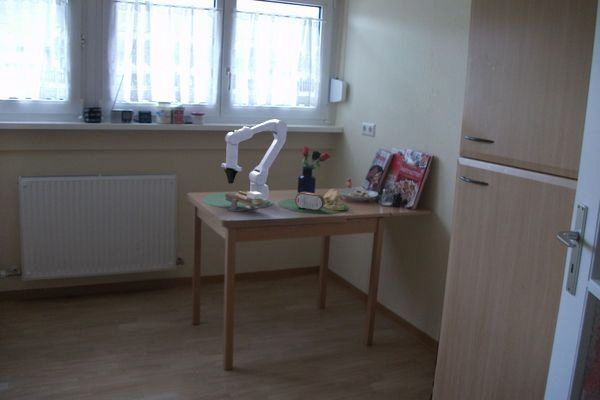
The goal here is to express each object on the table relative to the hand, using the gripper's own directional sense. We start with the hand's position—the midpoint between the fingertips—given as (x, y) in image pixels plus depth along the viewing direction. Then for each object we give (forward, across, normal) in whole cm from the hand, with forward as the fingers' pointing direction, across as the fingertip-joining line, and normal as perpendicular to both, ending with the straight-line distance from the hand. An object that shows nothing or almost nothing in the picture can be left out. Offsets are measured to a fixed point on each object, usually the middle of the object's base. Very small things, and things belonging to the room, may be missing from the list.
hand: (230, 183), depth 305 cm
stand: (+10, +15, -3) cm, 18 cm away
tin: (+10, +30, +27) cm, 42 cm away
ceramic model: (+10, +33, +42) cm, 54 cm away
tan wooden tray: (+7, +17, -3) cm, 19 cm away
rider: (+4, +24, -3) cm, 24 cm away
